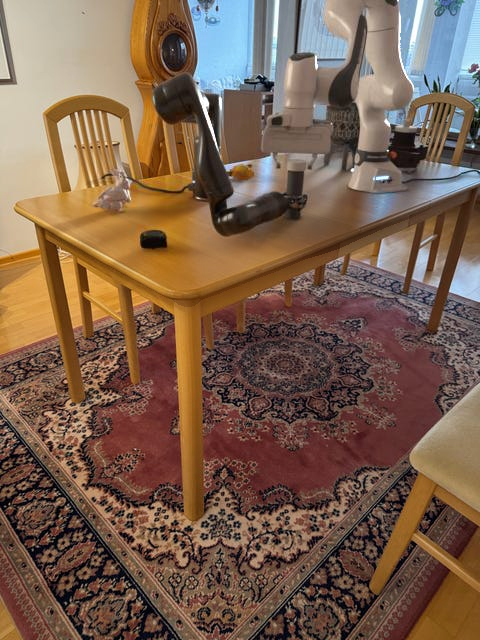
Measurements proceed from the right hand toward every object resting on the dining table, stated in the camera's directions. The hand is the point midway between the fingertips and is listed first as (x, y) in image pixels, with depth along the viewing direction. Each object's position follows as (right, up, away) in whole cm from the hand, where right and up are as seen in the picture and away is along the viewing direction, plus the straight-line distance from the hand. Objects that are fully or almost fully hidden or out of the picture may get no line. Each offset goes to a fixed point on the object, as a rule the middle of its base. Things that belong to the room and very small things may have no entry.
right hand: (293, 168), depth 136 cm
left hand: (+2, -7, +6) cm, 9 cm away
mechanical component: (+60, +25, +74) cm, 98 cm away
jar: (0, -13, +7) cm, 15 cm away
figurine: (-56, -10, +10) cm, 58 cm away
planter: (+31, +26, +75) cm, 85 cm away
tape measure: (-38, -27, -18) cm, 50 cm away
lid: (+1, +1, -2) cm, 2 cm away
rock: (+40, +46, +109) cm, 125 cm away
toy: (-15, +13, +51) cm, 54 cm away
